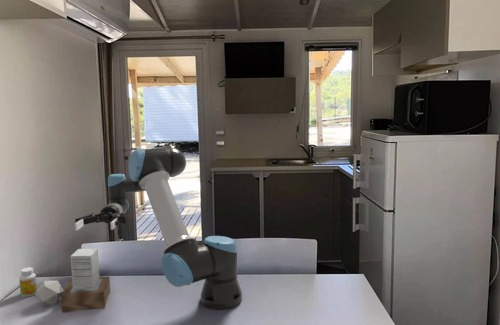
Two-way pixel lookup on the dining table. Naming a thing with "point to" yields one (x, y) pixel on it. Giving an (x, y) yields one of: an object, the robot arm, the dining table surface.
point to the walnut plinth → (86, 297)
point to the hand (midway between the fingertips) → (93, 226)
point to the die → (49, 292)
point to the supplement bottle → (27, 282)
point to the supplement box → (85, 269)
